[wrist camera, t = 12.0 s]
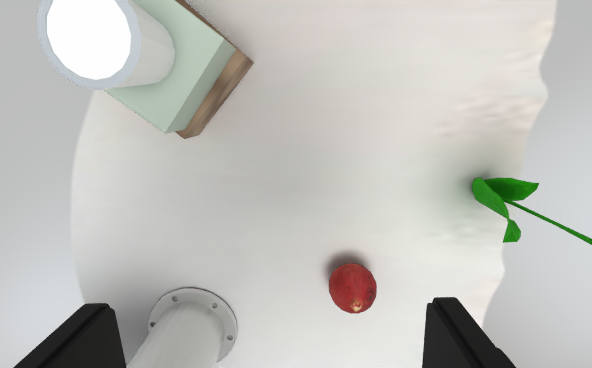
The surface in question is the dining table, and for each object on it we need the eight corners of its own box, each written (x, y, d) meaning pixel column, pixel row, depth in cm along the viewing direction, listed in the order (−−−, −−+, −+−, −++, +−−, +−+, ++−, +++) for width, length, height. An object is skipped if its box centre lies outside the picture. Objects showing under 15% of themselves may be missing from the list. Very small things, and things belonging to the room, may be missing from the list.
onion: (369, 251, 41) (385, 285, 33) (369, 290, 43) (384, 330, 35) (326, 253, 41) (331, 287, 34) (327, 291, 43) (332, 332, 35)
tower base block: (199, 134, 38) (184, 138, 33) (125, 74, 37) (98, 69, 32) (254, 63, 36) (246, 56, 31) (177, -5, 35) (157, -23, 30)
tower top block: (185, 129, 33) (164, 133, 28) (103, 71, 32) (67, 64, 27) (236, 49, 31) (224, 38, 26) (151, -17, 30) (121, -41, 25)
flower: (489, 141, 37) (1150, 266, 8) (521, 192, 39) (1182, 455, 10) (427, 183, 39) (800, 417, 10) (460, 231, 40) (873, 560, 11)
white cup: (159, -8, 25) (106, -47, 19) (196, 74, 27) (159, 66, 20) (88, 26, 26) (13, 0, 19) (128, 103, 28) (71, 105, 21)
